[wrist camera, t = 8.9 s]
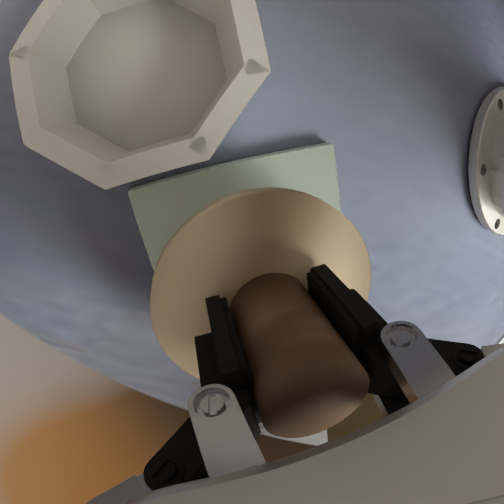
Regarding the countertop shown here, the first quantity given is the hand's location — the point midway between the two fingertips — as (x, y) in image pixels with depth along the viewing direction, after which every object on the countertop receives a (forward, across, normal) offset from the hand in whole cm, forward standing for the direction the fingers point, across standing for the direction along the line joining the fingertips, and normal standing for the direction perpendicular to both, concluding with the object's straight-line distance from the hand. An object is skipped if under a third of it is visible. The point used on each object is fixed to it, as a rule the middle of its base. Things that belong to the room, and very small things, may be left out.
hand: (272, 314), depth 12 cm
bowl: (+6, +3, -10) cm, 12 cm away
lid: (+1, 0, 0) cm, 1 cm away
